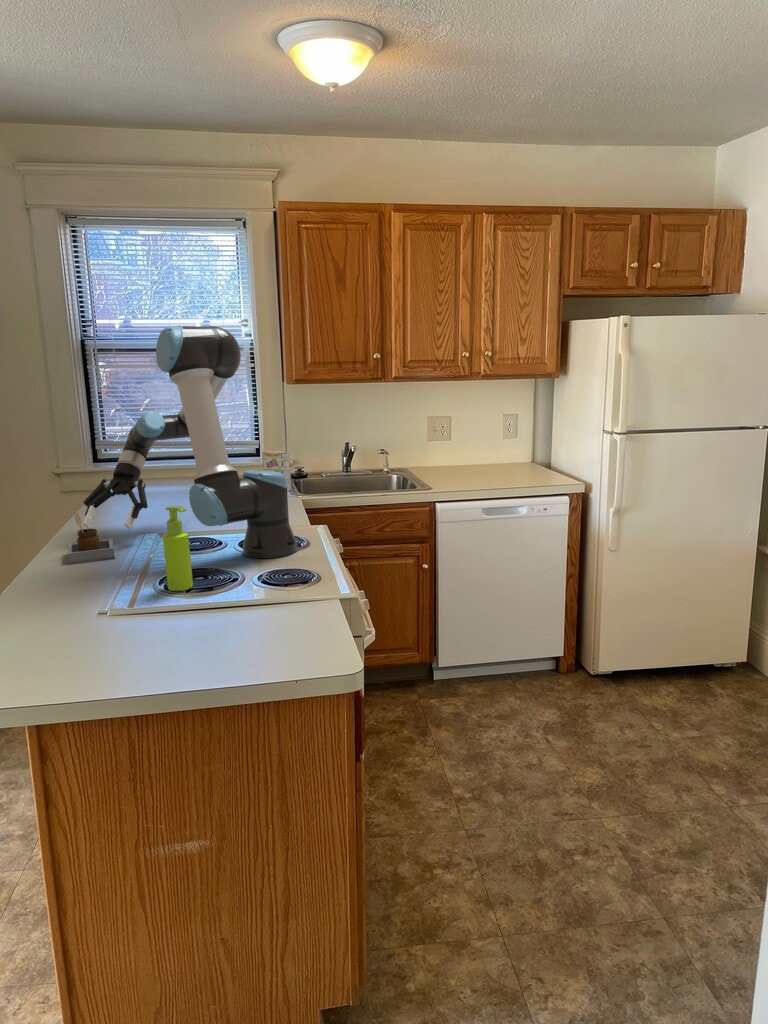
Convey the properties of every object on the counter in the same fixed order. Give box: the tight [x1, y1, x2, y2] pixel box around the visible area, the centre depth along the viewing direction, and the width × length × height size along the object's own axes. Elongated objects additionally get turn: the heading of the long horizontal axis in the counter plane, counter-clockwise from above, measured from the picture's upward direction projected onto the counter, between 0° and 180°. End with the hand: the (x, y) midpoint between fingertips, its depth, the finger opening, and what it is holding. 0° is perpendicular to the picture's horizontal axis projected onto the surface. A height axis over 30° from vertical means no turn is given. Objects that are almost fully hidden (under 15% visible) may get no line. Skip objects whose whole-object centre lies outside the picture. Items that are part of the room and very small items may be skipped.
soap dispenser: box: [162, 505, 194, 592], centre depth 169 cm, size 6×7×20 cm
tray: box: [66, 538, 116, 565], centre depth 202 cm, size 12×12×3 cm
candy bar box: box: [261, 450, 292, 492], centre depth 295 cm, size 11×5×16 cm, turn 58°
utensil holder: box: [73, 512, 101, 552], centre depth 201 cm, size 6×6×12 cm
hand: (106, 526), depth 209 cm, fingers open, 13 cm apart
